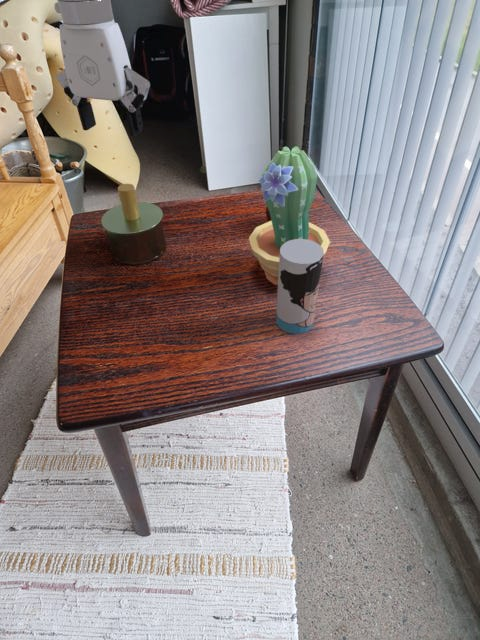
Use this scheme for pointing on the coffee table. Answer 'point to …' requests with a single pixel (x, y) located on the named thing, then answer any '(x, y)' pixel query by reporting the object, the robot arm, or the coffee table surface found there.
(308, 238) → the potted cactus
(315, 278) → the white printed cylinder
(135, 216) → the lid
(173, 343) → the coffee table surface
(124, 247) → the bowl
